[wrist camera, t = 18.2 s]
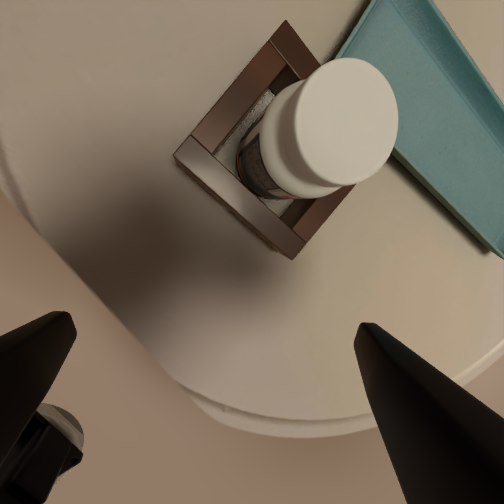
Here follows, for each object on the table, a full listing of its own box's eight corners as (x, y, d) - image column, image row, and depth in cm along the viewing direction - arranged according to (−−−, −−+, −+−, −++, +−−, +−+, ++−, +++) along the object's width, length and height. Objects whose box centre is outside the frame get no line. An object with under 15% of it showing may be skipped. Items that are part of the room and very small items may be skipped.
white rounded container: (300, 202, 20) (396, 205, 11) (232, 196, 19) (274, 193, 9) (309, 127, 19) (424, 60, 10) (237, 115, 18) (291, 21, 8)
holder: (275, 250, 21) (292, 261, 17) (175, 163, 17) (172, 155, 14) (353, 157, 21) (385, 149, 17) (267, 52, 17) (286, 18, 14)
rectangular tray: (534, 186, 26) (568, 185, 24) (485, 258, 27) (513, 264, 24) (374, -18, 18) (401, -51, 16) (306, 90, 19) (324, 75, 16)
